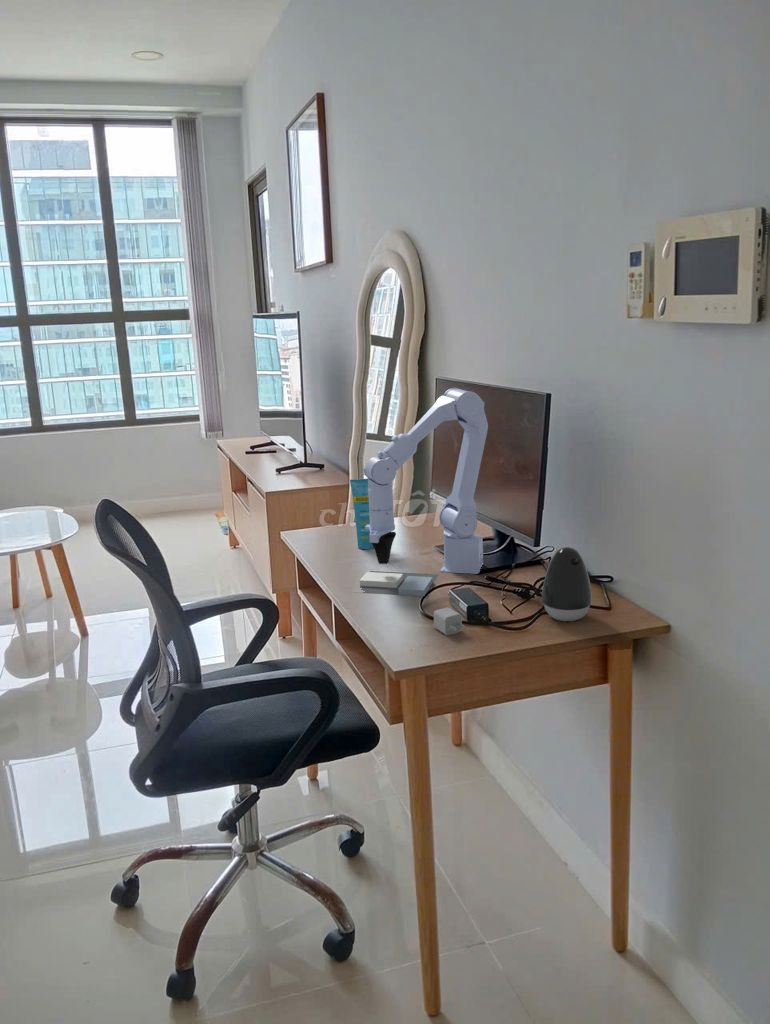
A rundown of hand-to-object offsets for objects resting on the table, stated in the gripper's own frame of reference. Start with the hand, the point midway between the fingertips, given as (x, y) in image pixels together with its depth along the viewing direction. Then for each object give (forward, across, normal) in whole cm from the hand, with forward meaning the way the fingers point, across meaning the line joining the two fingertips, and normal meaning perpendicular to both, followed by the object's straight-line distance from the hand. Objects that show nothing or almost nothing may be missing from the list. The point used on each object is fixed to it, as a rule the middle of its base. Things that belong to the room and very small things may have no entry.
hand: (383, 563), depth 203 cm
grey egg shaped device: (+5, +16, +44) cm, 47 cm away
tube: (+5, -25, -12) cm, 28 cm away
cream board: (+3, 0, 0) cm, 3 cm away
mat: (+4, +2, +4) cm, 6 cm away
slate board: (+4, +5, +9) cm, 11 cm away
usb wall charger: (+5, +28, +22) cm, 36 cm away
